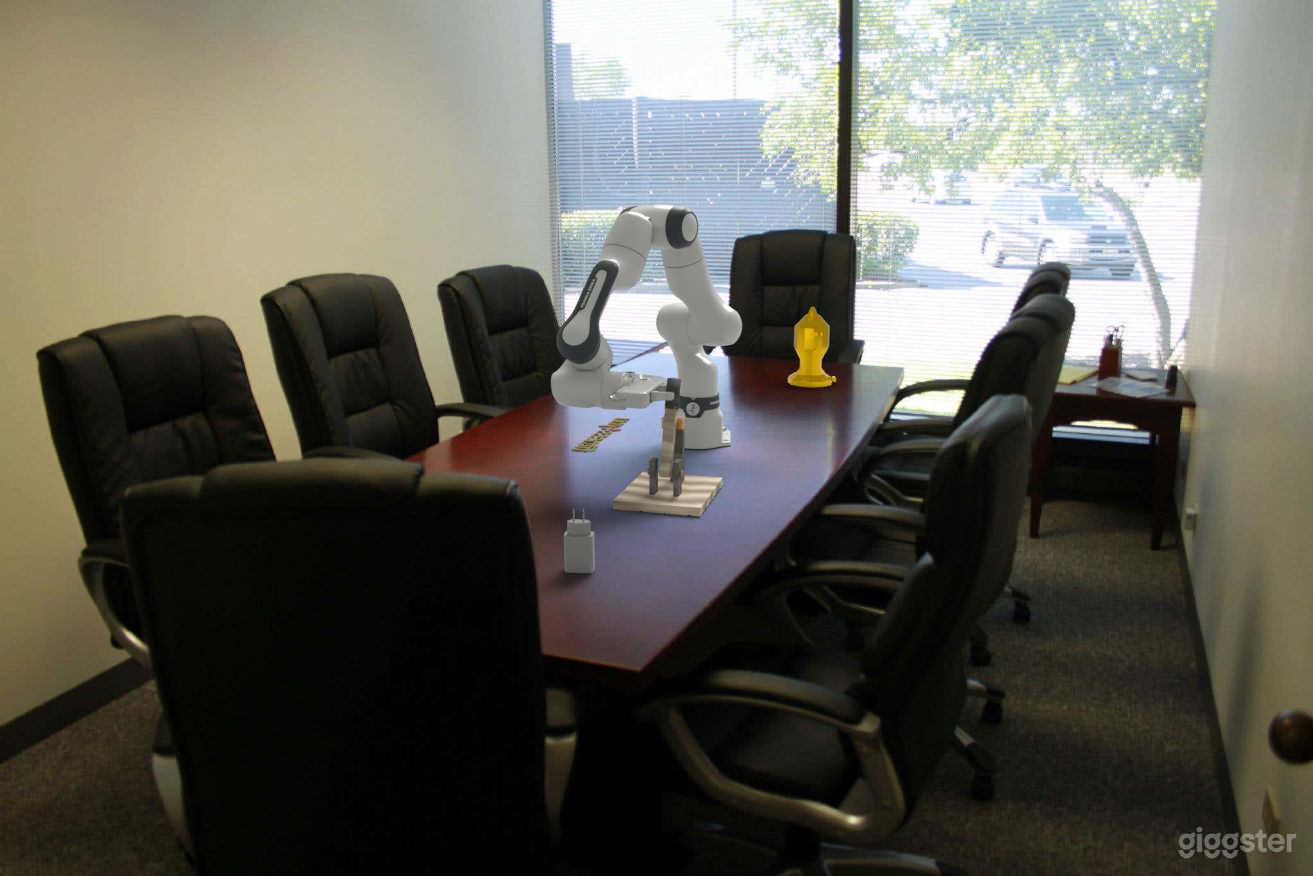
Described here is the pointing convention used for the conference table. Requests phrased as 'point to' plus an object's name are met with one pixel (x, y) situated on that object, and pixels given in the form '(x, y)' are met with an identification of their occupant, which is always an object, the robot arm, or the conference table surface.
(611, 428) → the text sign
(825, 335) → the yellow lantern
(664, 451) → the lever
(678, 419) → the pin
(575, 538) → the power adapter
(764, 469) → the conference table surface
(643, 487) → the frame
